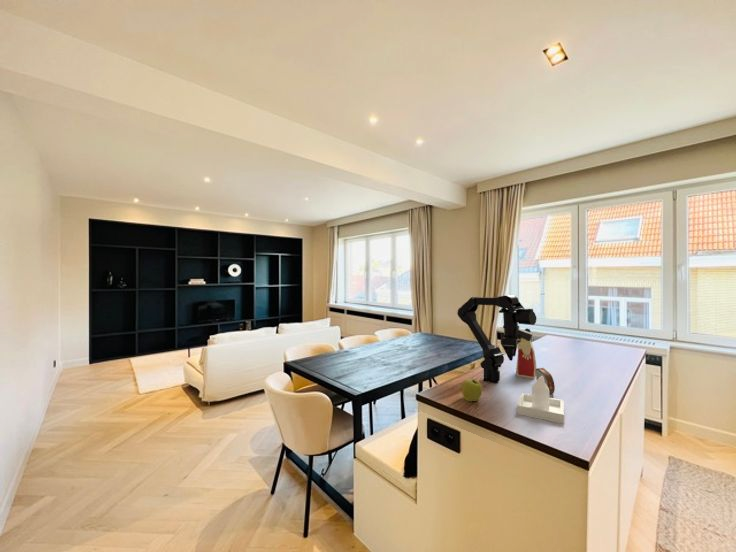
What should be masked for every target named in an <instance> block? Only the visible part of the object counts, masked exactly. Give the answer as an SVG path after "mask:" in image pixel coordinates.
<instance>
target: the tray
mask: <svg viewBox="0 0 736 552" xmlns="http://www.w3.org/2000/svg"><path fill="white" fill-rule="evenodd" d="M516 407H517V408H516V409H517V410H516V411H517V415H520V416H526V417H530V418H536V419H541V420H545V421H548V422H549V421H550V422H554V423H559V424H564V423H565V421H564V420H565V414H564V413H565V409H564V407H565V405H564V399H559V398H553V397H549V410H543V409H538V408H533V407H532V393H531V394H530V393H525V392H521V395H520V397H519V400H518V403H517V406H516Z"/></svg>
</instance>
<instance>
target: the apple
mask: <svg viewBox="0 0 736 552" xmlns="http://www.w3.org/2000/svg"><path fill="white" fill-rule="evenodd" d="M482 392H483V386H482V384H481V382H480V381H479V380H476V379H474V378H466V379H465V380H463V382H462V384H461V394H462V396H463V398H464V399H465V401H467V402H472V401H477V402H478V401H479V399H480V398H481V396H482Z"/></svg>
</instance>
